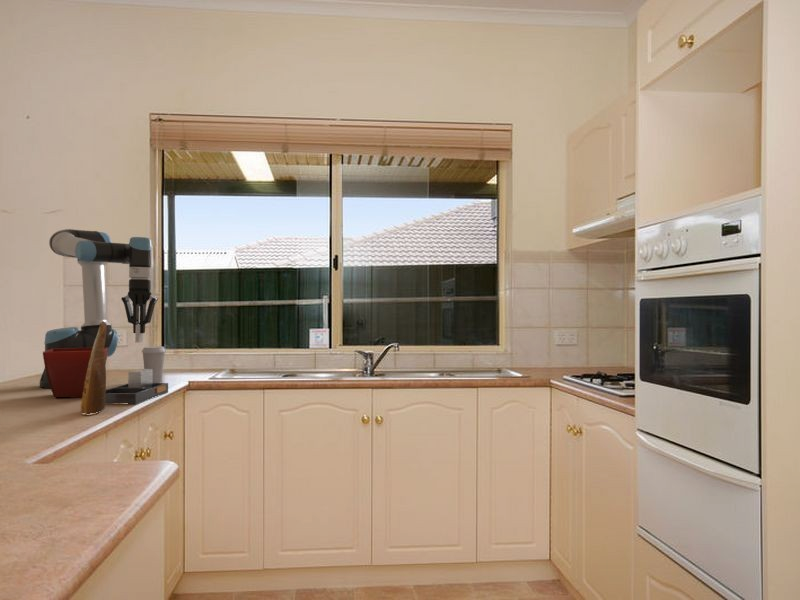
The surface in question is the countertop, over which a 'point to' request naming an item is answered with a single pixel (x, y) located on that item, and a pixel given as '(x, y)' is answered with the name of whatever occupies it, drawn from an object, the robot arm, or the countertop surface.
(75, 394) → the plant pot
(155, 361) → the coffee cup
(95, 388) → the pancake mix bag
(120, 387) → the tray
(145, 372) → the plain grey rectangular box
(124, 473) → the countertop surface
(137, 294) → the robot arm
